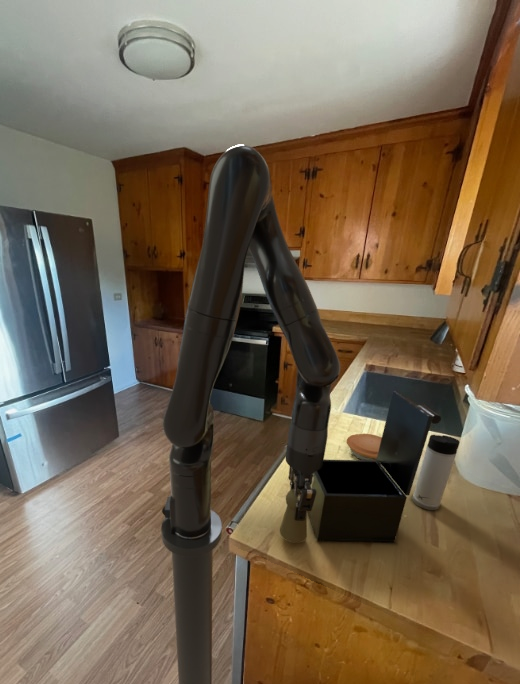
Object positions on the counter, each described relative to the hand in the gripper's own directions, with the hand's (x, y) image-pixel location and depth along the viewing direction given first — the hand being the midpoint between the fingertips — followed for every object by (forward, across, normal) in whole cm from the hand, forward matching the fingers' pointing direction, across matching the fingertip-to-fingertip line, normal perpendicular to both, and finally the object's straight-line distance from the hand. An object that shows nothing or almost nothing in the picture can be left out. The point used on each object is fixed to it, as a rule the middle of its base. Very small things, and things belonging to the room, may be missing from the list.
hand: (296, 510), depth 72 cm
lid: (-14, -7, +23) cm, 28 cm away
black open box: (+8, -7, +14) cm, 18 cm away
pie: (+8, -39, +33) cm, 52 cm away
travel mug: (+8, -14, +38) cm, 42 cm away
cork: (+7, 0, 0) cm, 7 cm away
